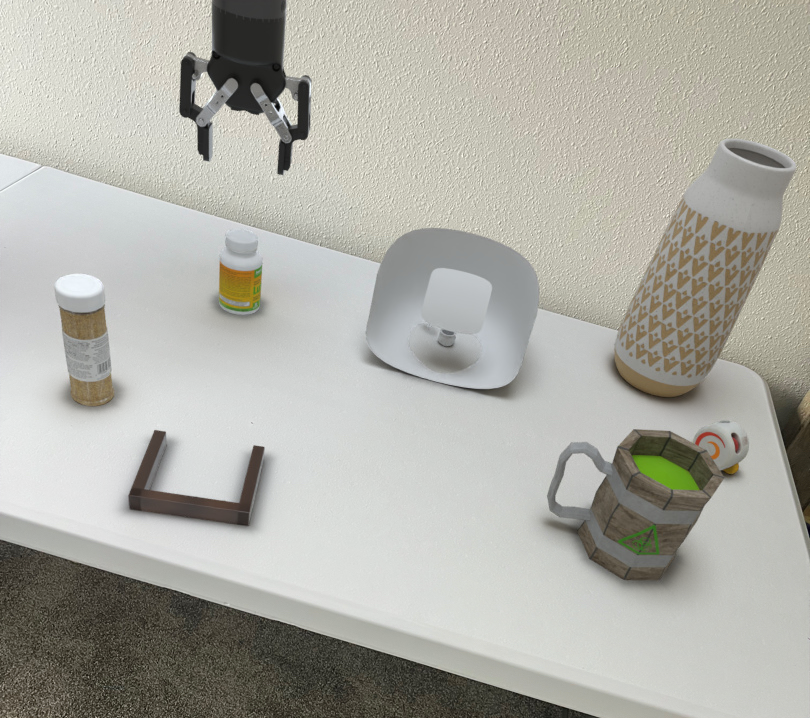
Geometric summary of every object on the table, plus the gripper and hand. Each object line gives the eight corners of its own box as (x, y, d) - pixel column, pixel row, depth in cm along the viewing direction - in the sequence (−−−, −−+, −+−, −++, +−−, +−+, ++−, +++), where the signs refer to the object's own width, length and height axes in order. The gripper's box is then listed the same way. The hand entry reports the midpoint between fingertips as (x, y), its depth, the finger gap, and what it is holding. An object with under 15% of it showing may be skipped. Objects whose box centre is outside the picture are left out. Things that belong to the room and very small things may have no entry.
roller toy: (703, 443, 101) (724, 407, 97) (741, 474, 98) (764, 438, 94) (681, 452, 99) (702, 415, 95) (719, 483, 96) (742, 446, 92)
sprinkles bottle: (95, 378, 88) (82, 267, 79) (123, 397, 87) (114, 286, 77) (61, 394, 85) (43, 280, 76) (89, 413, 84) (75, 300, 74)
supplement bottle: (258, 318, 103) (262, 248, 96) (216, 313, 102) (217, 242, 95) (260, 298, 107) (264, 229, 100) (220, 293, 106) (221, 223, 99)
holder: (129, 510, 75) (128, 495, 74) (155, 444, 82) (154, 429, 81) (248, 527, 76) (249, 512, 75) (263, 460, 84) (264, 446, 82)
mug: (672, 527, 88) (721, 445, 80) (674, 596, 81) (728, 513, 72) (538, 488, 89) (573, 402, 80) (527, 552, 81) (565, 465, 73)
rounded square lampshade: (520, 329, 114) (545, 252, 105) (510, 402, 100) (537, 320, 92) (387, 294, 114) (401, 214, 105) (358, 363, 100) (372, 277, 92)
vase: (587, 350, 113) (678, 125, 91) (666, 349, 117) (769, 134, 96) (634, 409, 104) (746, 175, 83) (716, 404, 109) (842, 182, 87)
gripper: (322, 9, 83) (308, 165, 95) (186, -20, 82) (189, 142, 93) (315, 27, 78) (301, 190, 90) (170, -3, 77) (175, 166, 88)
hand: (244, 165), depth 91 cm, fingers open, 8 cm apart
